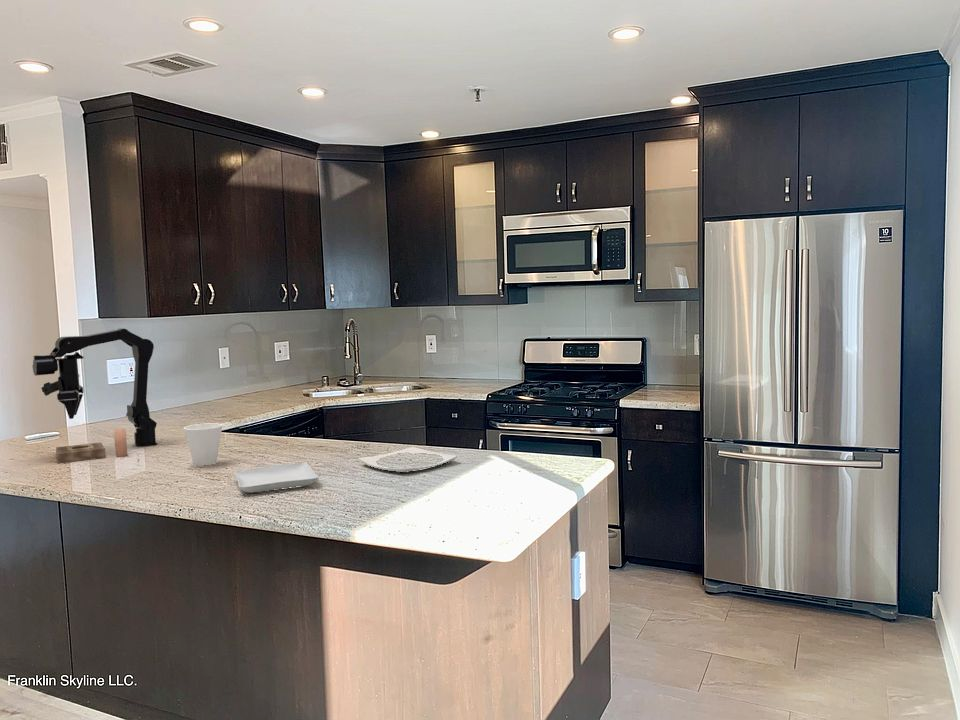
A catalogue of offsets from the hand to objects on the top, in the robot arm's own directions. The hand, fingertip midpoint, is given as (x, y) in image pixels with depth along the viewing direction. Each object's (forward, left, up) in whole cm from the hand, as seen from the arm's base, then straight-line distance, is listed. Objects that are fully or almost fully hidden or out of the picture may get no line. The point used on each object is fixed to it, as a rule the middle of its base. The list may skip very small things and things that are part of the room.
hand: (73, 416), depth 249 cm
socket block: (-1, +6, -14) cm, 15 cm away
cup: (-34, +46, -14) cm, 59 cm away
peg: (-13, +13, -14) cm, 23 cm away
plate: (-86, +88, -14) cm, 124 cm away
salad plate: (-45, +86, -14) cm, 98 cm away
